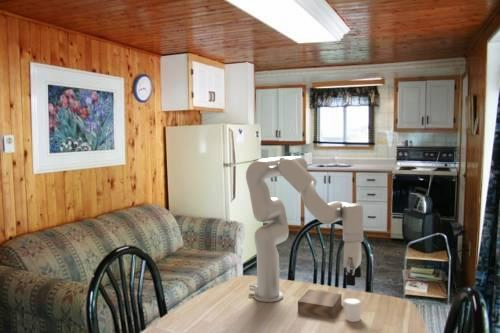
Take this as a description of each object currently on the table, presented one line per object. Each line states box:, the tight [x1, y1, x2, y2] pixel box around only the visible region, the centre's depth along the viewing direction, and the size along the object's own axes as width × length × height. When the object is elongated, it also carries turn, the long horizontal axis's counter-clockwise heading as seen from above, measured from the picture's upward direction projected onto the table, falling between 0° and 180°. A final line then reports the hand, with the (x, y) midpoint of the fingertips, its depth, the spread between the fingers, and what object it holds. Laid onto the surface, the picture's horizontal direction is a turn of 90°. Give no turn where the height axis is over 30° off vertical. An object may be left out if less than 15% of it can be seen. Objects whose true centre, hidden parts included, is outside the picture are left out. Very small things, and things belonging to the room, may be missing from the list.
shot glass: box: [342, 297, 363, 323], centre depth 171 cm, size 7×7×7 cm
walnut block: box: [297, 288, 342, 319], centre depth 181 cm, size 14×14×5 cm
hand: (353, 280), depth 170 cm, fingers open, 9 cm apart
